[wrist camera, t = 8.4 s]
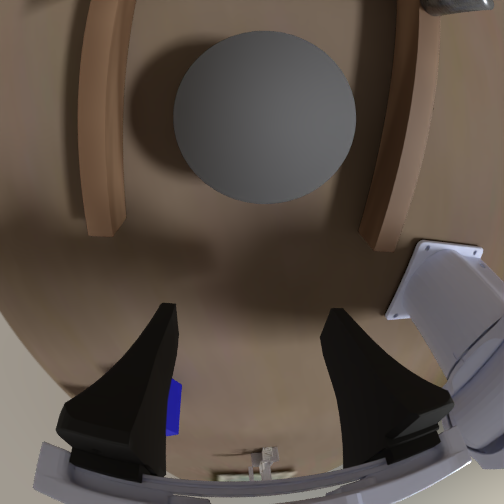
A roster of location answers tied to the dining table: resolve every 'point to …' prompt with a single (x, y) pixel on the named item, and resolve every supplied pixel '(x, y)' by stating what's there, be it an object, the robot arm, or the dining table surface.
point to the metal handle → (455, 6)
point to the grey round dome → (264, 117)
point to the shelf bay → (391, 146)
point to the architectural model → (264, 462)
